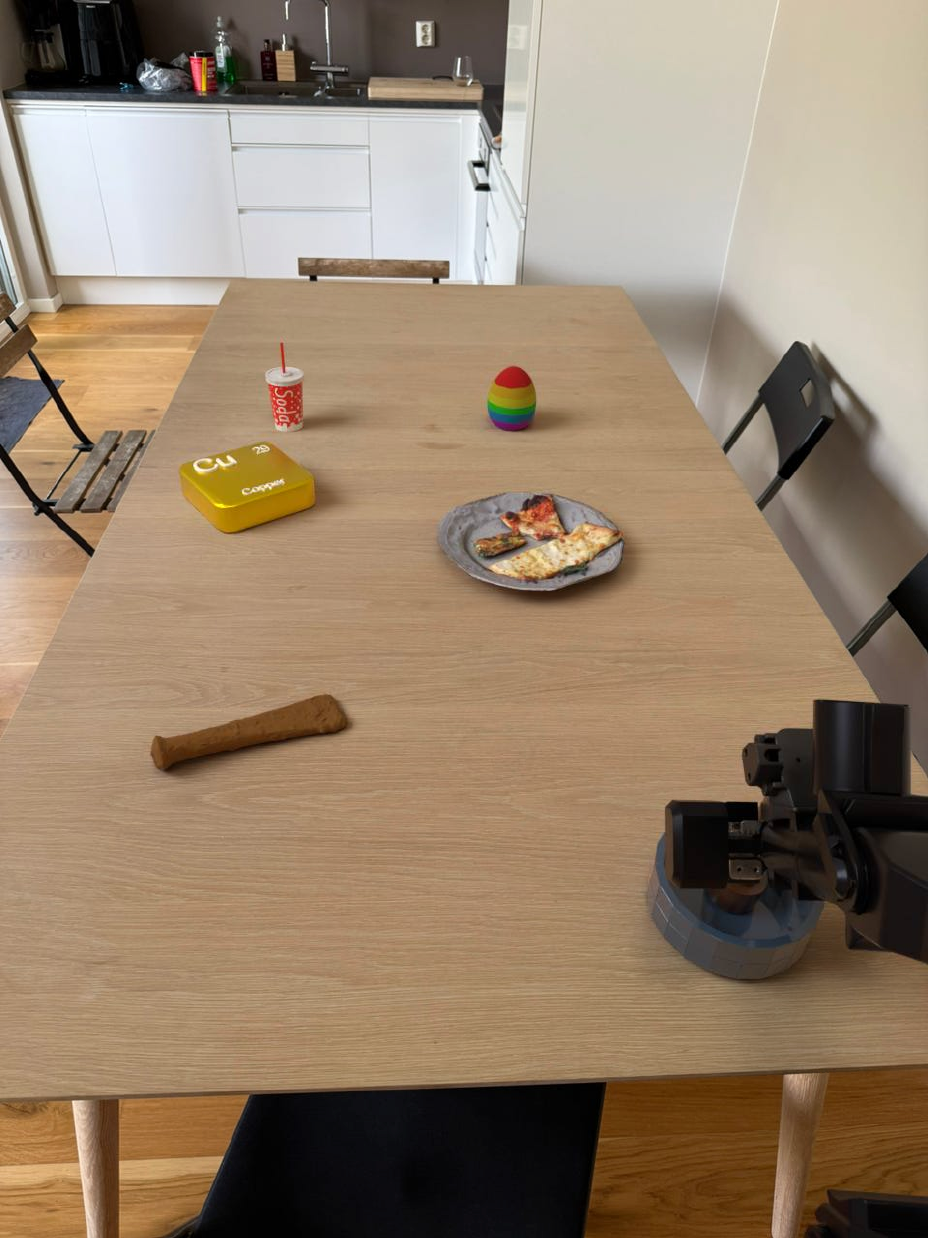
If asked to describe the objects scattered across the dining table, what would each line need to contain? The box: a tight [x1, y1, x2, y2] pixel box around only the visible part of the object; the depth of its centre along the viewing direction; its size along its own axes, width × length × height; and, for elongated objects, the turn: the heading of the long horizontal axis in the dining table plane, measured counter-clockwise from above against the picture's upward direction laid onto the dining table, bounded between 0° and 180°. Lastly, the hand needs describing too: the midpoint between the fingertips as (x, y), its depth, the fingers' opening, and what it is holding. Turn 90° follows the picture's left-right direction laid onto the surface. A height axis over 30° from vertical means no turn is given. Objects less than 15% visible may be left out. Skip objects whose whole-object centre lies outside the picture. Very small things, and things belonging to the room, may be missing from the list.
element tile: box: [178, 441, 316, 534], centre depth 127 cm, size 15×15×5 cm
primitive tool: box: [149, 693, 348, 772], centre depth 89 cm, size 19×6×4 cm, turn 119°
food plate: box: [436, 491, 626, 592], centre depth 119 cm, size 25×23×4 cm
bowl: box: [645, 831, 825, 980], centre depth 75 cm, size 14×14×5 cm
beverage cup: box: [264, 342, 305, 433], centre depth 143 cm, size 6×6×14 cm
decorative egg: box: [486, 365, 537, 431], centre depth 148 cm, size 8×8×10 cm
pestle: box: [707, 796, 769, 914], centre depth 73 cm, size 4×4×14 cm
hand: (754, 832), depth 74 cm, fingers closed on pestle, 3 cm apart
